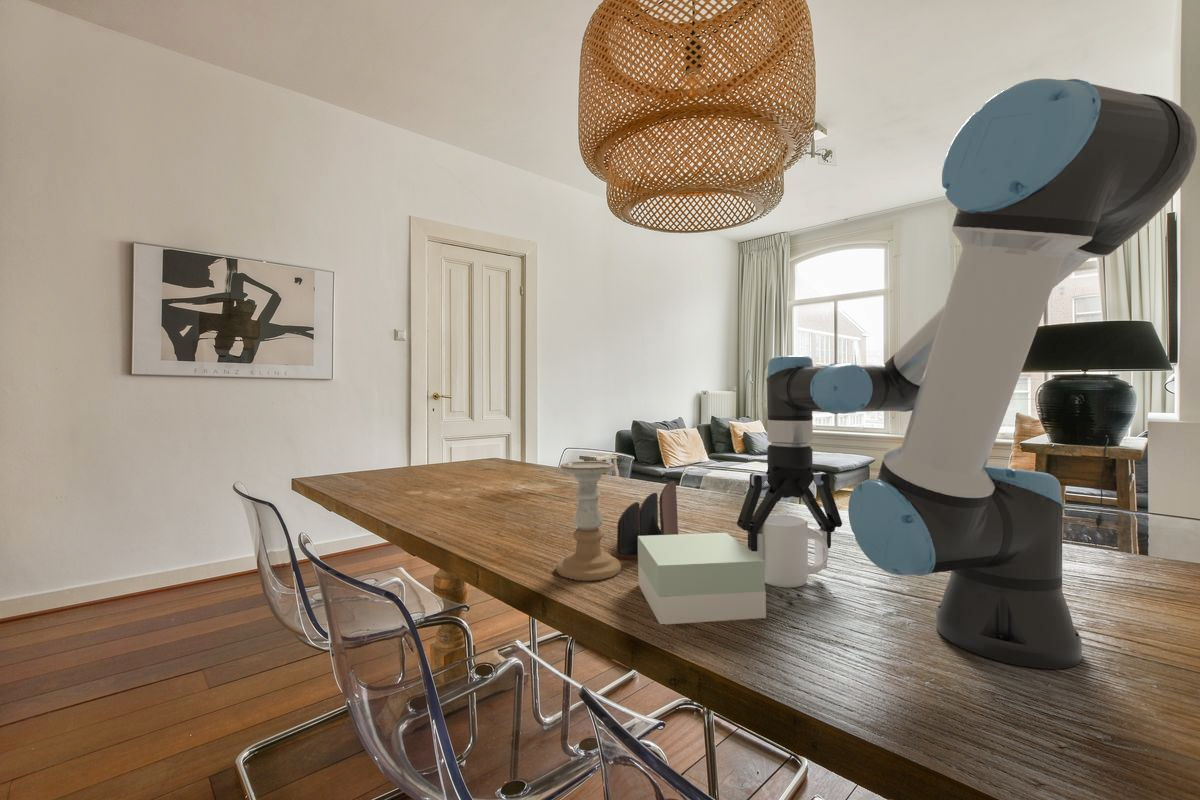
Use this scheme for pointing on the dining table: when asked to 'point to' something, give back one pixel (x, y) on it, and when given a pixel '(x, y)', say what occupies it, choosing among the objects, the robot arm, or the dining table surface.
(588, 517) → the candle holder
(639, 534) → the letter holder
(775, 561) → the mug
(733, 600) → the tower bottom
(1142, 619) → the dining table surface
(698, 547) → the tower top
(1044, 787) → the dining table surface
